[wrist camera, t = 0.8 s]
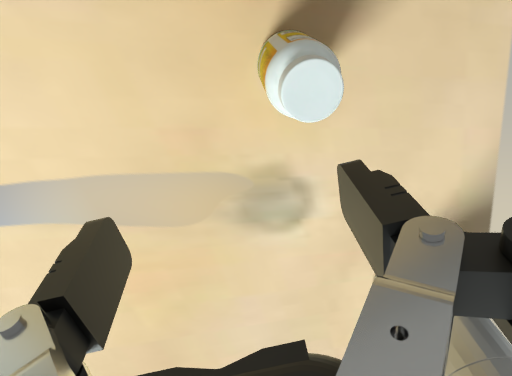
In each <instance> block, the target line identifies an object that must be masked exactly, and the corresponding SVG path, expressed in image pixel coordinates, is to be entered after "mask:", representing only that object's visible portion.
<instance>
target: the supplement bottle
mask: <svg viewBox="0 0 512 376" xmlns="http://www.w3.org/2000/svg"><path fill="white" fill-rule="evenodd" d="M258 74H259V77H260V80H261V82H262V84H263V86H264V89H265V91H266V94H267V96H268V98H269V100H270V102H271V104H272V105H273V106H274V107H275V108H276V109H277V110H278V111H279V112H280V113H282V114H284V115H286V116H288V117H291V118H294V119H296V120H299V121H301V122H317V121H320V120H323V119H325V118H326V117H328V116H329V115H331V114H332V113H333V112H334V111H335V109H336V108H337V107H338V105H339V103H340V101H341V99H342V96H343V91H344V84H343V78H342V75H341V68H340V64H339V62H338V59H337V57H336V56H335V54H334V53H333V52H332V50H331V49H330V48H329V47H327V46H326V45H325V44H323V43H321V42H319V41H317V40H316V39H314V38H312V37H310V36H308V35H306V34H304V33H302V32H299V31H295V30H285V31H281V32H278V33H276V34H274V35H273V36H271V37H270V38H269V39H268V40H267V41H266V42H265V44H264V45H263V47H262V49H261V51H260V54H259V57H258Z"/></svg>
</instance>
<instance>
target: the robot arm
mask: <svg viewBox="0 0 512 376" xmlns="http://www.w3.org/2000/svg"><path fill="white" fill-rule="evenodd" d="M337 173H338V183H339V193H340V202H341V208H342V212H343V215H344V218H345V220H346V222H347V224H348V225H349V227H350V229H351V231H352V233H353V234H354V236H355V238H356V240H357V242H358V243H359V245H360V247H361V249H362V251H363V252H364V254H365V256H366V258H367V260H368V261H369V263H370V265H371V267H372V269H373V271H374V272H375V274H376V276H375V279H374V282H373V284H372V286H371V289H370V291H369V294H368V296H367V299H366V301H365V304H364V306H363V309H362V311H361V314H360V317H359V319H358V322H357V324H356V327H355V329H354V332H353V334H352V337H351V339H350V342H349V344H348V347H347V349H346V352H345V354H344V357H343V359H342V360H340V359H337V358H333V357H330V356H326V355H320V354H311V353H308V352H307V348H306V343H305V340H301V341H296V342H291V343H287V344H282V345H278V346H273V347H268V348H264V349H261V350H259V351H257V352H255V353H253V354H250V355H248V356H246V357H244V358H242V359H240V360H238V361H236V362H234V363H232V364H230V365H227V366H225V367H223V368H220V369H201V368H182V367H175V368H171V369H166V370H161V371H157V372H152V373H147V374H143V375H138V376H512V346H511V344H512V217H511V218H509V219H508V220H506V221H505V222H504V224H503V227H502V232H501V233H469V232H463V230H462V229H461V228H460V227H459V226H458V225H457V224H456V223H454V222H452V221H450V220H448V219H445V218H442V217H437V216H430V215H429V214H428V213H427V212H426V211H425V210H424V209H423V208H422V207H421V206H420V204H419V203H418V202H417V201H416V200H415V199H414V198H413V197H412V196H411V195H410V194H409V193H407V191H406V190H405V189H404V188H403V187H402V186H400V184H399V182H398V181H397V180H396V179H395V178H394V177H393V176H392V175H389V174H387V173H385V172H383V171H380V170H376V171H372V172H371V171H370V170H369V169H368V168H367V167H366V165H365V164H364V163H363V162H362V161H361V160H355V161H351V162H347V163H342V164H338V166H337ZM131 266H132V258H131V253H130V251H129V249H128V247H127V245H126V243H125V241H124V239H123V237H122V236H121V234H120V232H119V230H118V228H117V226H116V224H115V222H114V221H113V220H112V219H111V218H110V217H106V218H102V219H98V220H93V221H89V222H86V223H85V224H84V226H83V227H82V229H81V230H80V232H79V234H78V235H77V237H76V239H74V240H73V241H72V242H71V243H70V244H68V245H67V246H66V247H65V248H64V249H63V250H62V251H61V253H60V254H59V256H58V258H57V259H56V261H55V264H53V265H52V267H51V269H50V270H49V273H48V274H47V275H46V276H45V278H44V280H43V281H42V283H41V284H40V286H39V287H38V289H37V290H36V292H35V294H34V295H33V297H32V298H31V300H30V301H29V303H28V304H27V305H23V306H20V307H18V308H15V309H13V310H11V311H10V312H8V313H6V314H5V315H3V316H2V317H1V318H0V376H92V375H91V373H90V371H89V369H88V367H87V366H86V364H85V363H84V362H83V360H84V357H85V355H86V354H87V353H91V352H96V351H100V350H103V349H104V346H105V343H106V340H107V337H108V334H109V331H110V328H111V325H112V322H113V319H114V317H115V314H116V311H117V308H118V305H119V302H120V299H121V296H122V293H123V290H124V287H125V284H126V281H127V278H128V276H129V273H130V270H131ZM489 318H492V319H493V320H494V321H495V323H496V324H497V325H498V327H499V328H500V329H501V331H502V332H503V333H504V335H505V336H506V337H507V339H508V340H509V341H510V343H511V344H510V343H509V342H508V341H507V340H506V338H505V337H504V336H503V335H502V334H501V332H500V331H499V330H498V329H497V328H496V326H495V325H494V324H493V323H492V322H491V320H490V319H489Z"/></svg>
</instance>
